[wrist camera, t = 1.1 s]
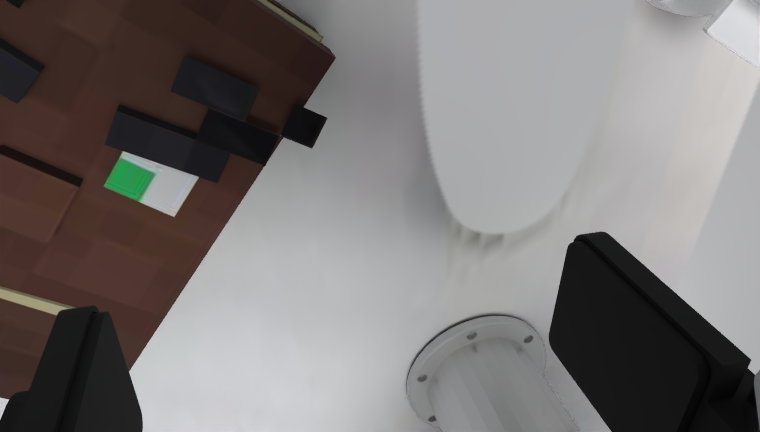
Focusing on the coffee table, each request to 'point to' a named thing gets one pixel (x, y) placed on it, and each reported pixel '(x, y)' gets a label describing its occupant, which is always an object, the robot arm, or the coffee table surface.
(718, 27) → the character figurine
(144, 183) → the decorative book
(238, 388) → the coffee table surface
